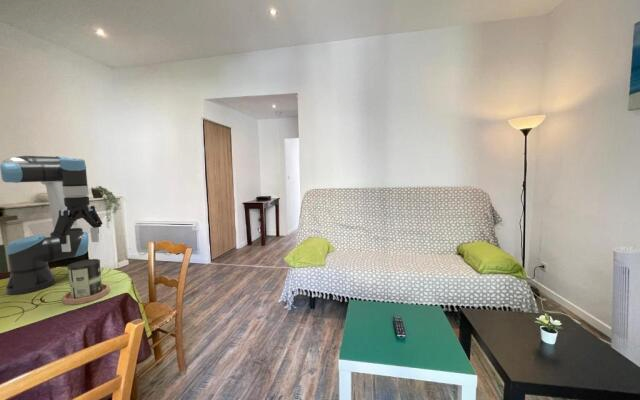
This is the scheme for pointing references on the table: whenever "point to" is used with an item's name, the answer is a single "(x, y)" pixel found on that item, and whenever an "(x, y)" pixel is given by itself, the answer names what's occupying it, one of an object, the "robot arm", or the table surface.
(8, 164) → the robot arm
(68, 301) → the saucer
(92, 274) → the coffee can
